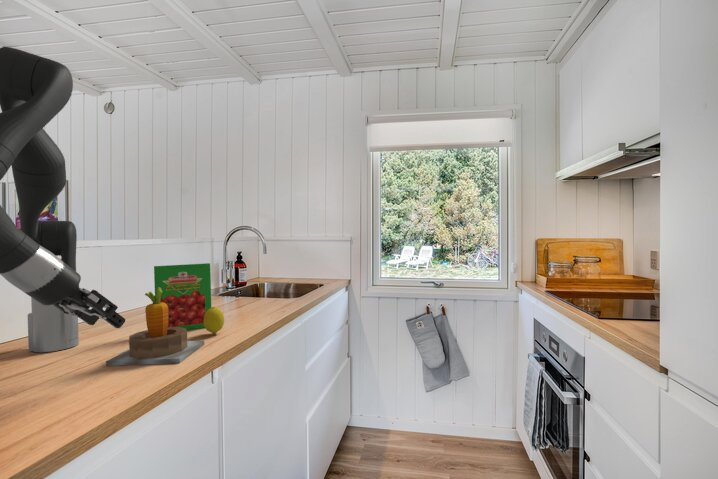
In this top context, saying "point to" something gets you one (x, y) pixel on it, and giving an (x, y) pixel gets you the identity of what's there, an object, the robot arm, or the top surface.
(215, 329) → the lemon
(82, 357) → the top surface
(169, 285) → the tomato puree packet
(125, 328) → the top surface
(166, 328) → the carrot
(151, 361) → the collar board
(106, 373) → the top surface
